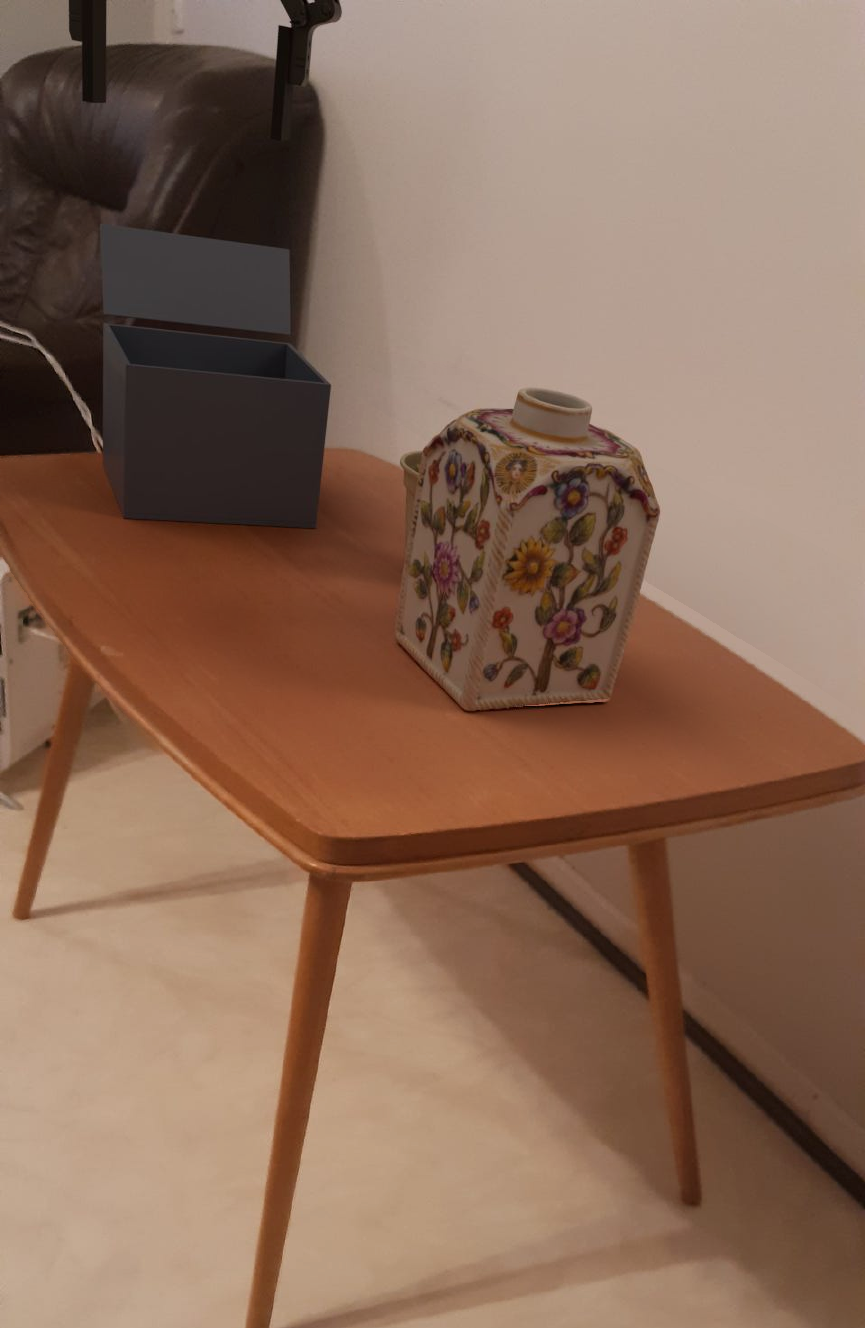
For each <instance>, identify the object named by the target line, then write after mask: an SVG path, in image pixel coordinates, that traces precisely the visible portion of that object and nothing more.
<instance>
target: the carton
mask: <svg viewBox="0 0 865 1328" xmlns="http://www.w3.org/2000/svg"><path fill="white" fill-rule="evenodd" d="M102 324H103V325H102V327H103V328H102V329H103V330H102V334H103V335H102V339H103V340H102V363H103V364H102V466H103V469H104V471H105V474H106V476H107V479H108V481H109V484H110V487H111V489H112V492H113V494H114V497H115V500H116V502H117V504H118V507H119V510H120V512H121V515H122V517H123V519H128V520H129V519H130V520H146V521H147V520H148V521H149V520H150V521H151V520H152V521H167V522H168V521H169V522H186V523H188V522H189V523H190V522H191V523H203V524H224V525H225V524H226V525H243V526H259V527H262V526H263V527H276V528H277V527H278V528H279V527H280V528H298V529H314V530H315V529H317V523H318V522H317V521H318V511H319V503H320V494H321V493H320V492H321V485H322V484H321V483H322V475H323V466H324V465H323V464H324V456H325V446H326V437H327V429H328V419H329V407H330V402H331V401H330V400H331V392H332V391H331V390H332V384H331V383H330V382H329V381H328V379H326V378H325V377H324V376H323V375H322V374H321V373H320V372H319V371H318V370H317V369H316V367H314V366H313V364H311V363H310V362H309V361H308V360H307V359H306V358H305V357H304V356H303V355H302V353H300V352H299V351H298V350H297V349H296V348H295V346H293V344H292V343H289V342H284V341H283V342H282V341H272V340H263V339H254V338H245V337H237V336H236V337H235V336H229V335H228V336H227V335H219V334H208V333H198V332H192V331H191V332H189V331H181V330H171V329H163V328H162V329H161V328H153V327H144V326H136V325H126V324H116V323H107V322H103V323H102Z"/></svg>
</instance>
